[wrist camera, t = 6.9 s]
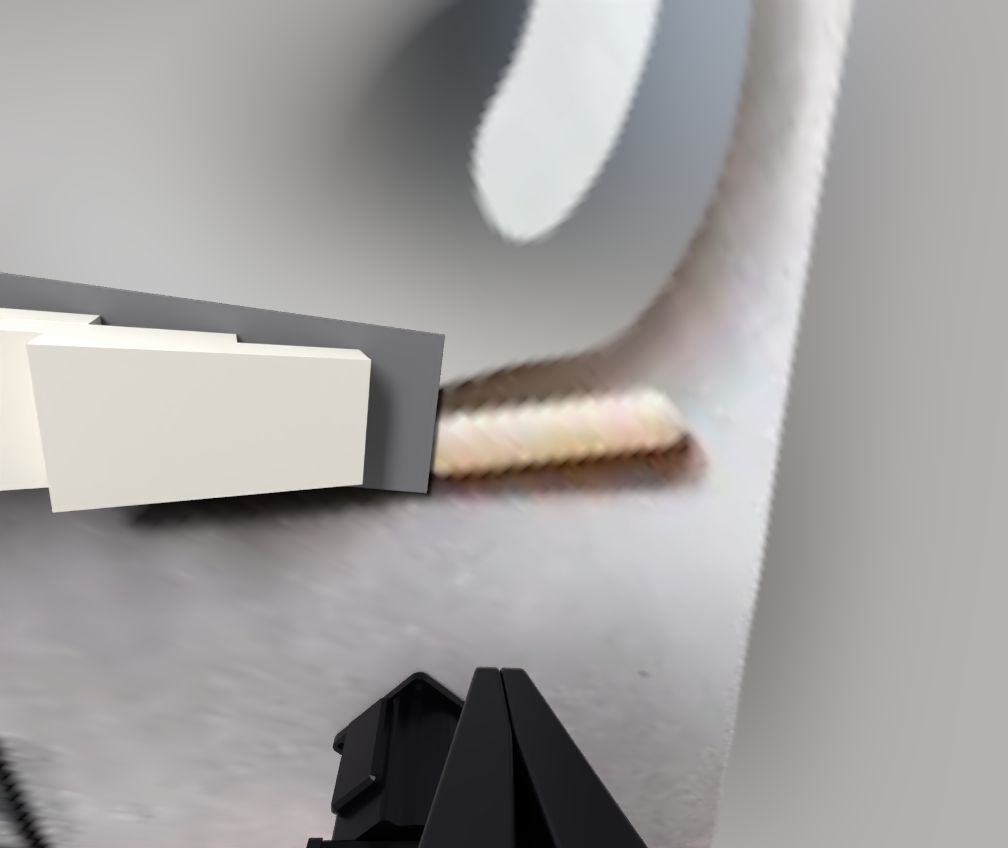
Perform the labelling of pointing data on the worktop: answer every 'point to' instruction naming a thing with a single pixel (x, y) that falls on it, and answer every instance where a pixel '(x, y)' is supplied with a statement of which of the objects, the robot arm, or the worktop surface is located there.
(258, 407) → the domino
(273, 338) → the strip
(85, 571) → the worktop surface
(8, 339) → the domino
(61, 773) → the worktop surface
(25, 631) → the worktop surface
